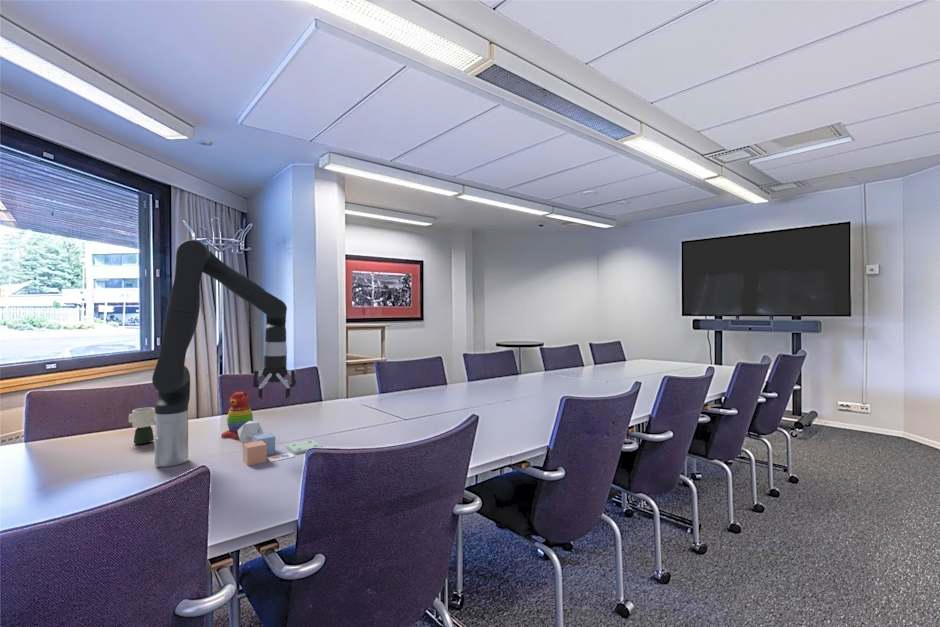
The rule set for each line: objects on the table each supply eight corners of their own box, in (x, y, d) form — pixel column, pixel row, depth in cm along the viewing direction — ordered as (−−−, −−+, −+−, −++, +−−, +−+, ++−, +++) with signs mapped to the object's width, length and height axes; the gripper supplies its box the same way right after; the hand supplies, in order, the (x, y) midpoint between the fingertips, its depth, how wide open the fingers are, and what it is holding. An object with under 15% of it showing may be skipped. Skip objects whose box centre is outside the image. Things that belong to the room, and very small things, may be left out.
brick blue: (257, 456, 157) (257, 439, 157) (252, 452, 161) (252, 435, 161) (275, 453, 161) (275, 436, 161) (270, 448, 165) (270, 432, 165)
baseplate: (294, 454, 159) (294, 450, 159) (286, 447, 167) (286, 444, 167) (322, 448, 165) (322, 445, 165) (312, 442, 173) (312, 439, 173)
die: (238, 449, 166) (255, 428, 166) (228, 434, 170) (244, 413, 171) (256, 451, 173) (272, 431, 173) (246, 436, 178) (262, 416, 178)
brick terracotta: (247, 466, 147) (247, 447, 147) (243, 461, 152) (243, 443, 152) (266, 462, 151) (266, 444, 151) (261, 457, 156) (261, 440, 156)
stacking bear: (218, 437, 179) (218, 393, 179) (238, 430, 189) (238, 389, 188) (240, 440, 176) (240, 395, 176) (259, 433, 185) (259, 390, 185)
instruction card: (270, 461, 151) (270, 461, 151) (266, 457, 155) (266, 457, 155) (294, 457, 156) (294, 456, 156) (290, 453, 160) (290, 452, 160)
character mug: (164, 440, 175) (164, 407, 175) (152, 445, 168) (152, 411, 168) (135, 440, 174) (135, 407, 174) (122, 446, 167) (122, 411, 167)
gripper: (251, 355, 157) (250, 401, 157) (294, 355, 160) (293, 400, 160) (257, 353, 164) (256, 397, 164) (297, 353, 167) (297, 396, 167)
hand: (274, 398), depth 162 cm, fingers open, 8 cm apart
